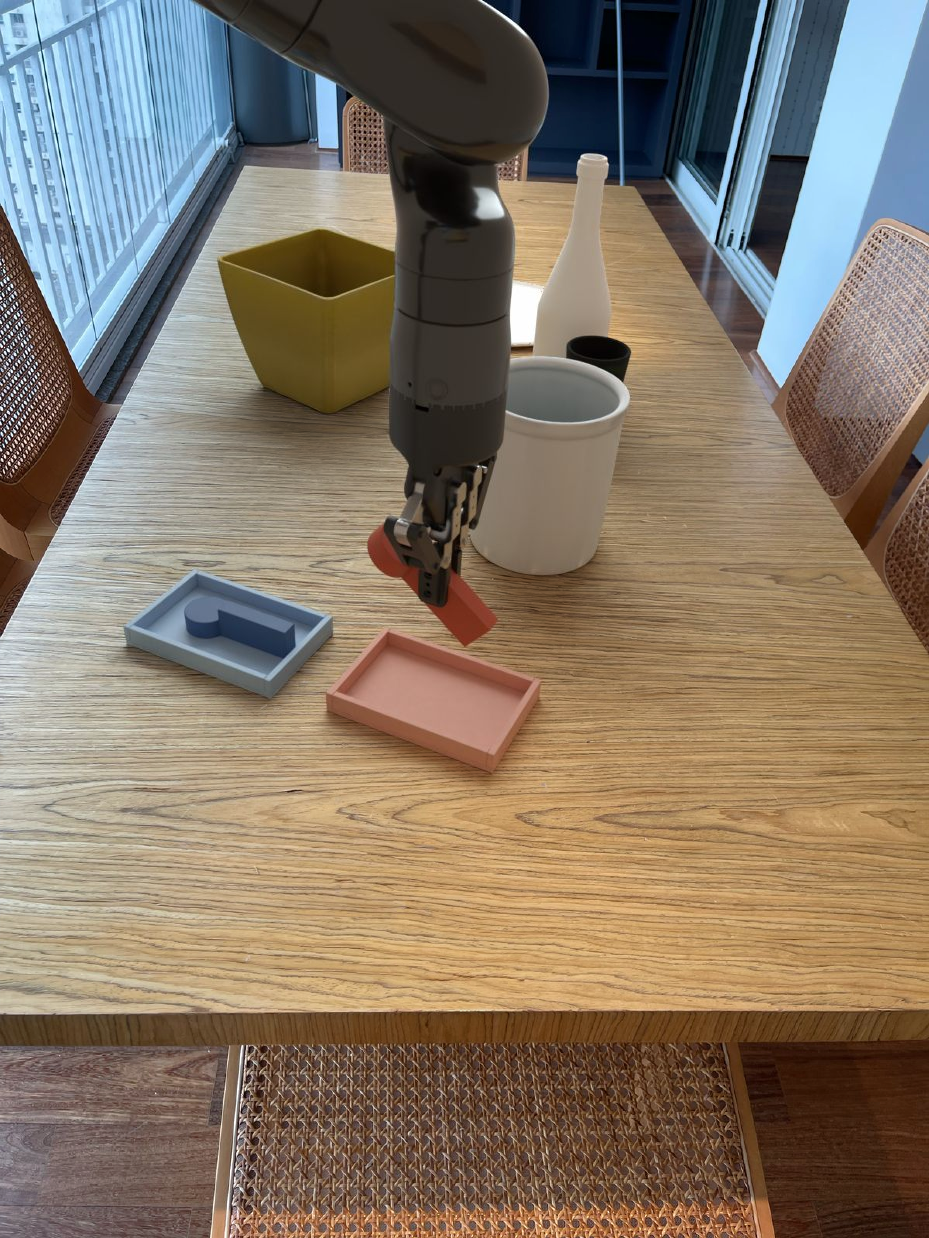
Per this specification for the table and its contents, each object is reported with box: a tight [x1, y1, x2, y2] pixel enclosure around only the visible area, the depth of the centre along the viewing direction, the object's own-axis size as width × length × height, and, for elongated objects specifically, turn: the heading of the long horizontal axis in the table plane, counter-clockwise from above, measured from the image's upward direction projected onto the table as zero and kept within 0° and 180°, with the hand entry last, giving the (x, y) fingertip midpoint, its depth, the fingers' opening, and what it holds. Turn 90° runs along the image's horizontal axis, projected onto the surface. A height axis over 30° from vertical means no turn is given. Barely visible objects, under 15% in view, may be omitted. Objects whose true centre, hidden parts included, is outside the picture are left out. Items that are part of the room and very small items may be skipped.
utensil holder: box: [469, 355, 631, 576], centre depth 101 cm, size 15×15×18 cm
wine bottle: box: [532, 153, 613, 359], centre depth 127 cm, size 10×10×30 cm
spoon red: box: [366, 521, 499, 648], centre depth 73 cm, size 11×4×3 cm
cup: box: [566, 335, 632, 384], centre depth 122 cm, size 8×8×12 cm
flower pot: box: [216, 227, 395, 414], centre depth 128 cm, size 19×19×17 cm
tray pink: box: [325, 626, 543, 774], centre depth 85 cm, size 15×10×2 cm
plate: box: [510, 280, 545, 348], centre depth 157 cm, size 29×29×1 cm
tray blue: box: [123, 568, 334, 699], centre depth 90 cm, size 15×10×2 cm
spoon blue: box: [184, 597, 296, 659], centre depth 89 cm, size 11×4×3 cm, turn 65°
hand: (438, 595), depth 74 cm, fingers closed on spoon red, 1 cm apart
